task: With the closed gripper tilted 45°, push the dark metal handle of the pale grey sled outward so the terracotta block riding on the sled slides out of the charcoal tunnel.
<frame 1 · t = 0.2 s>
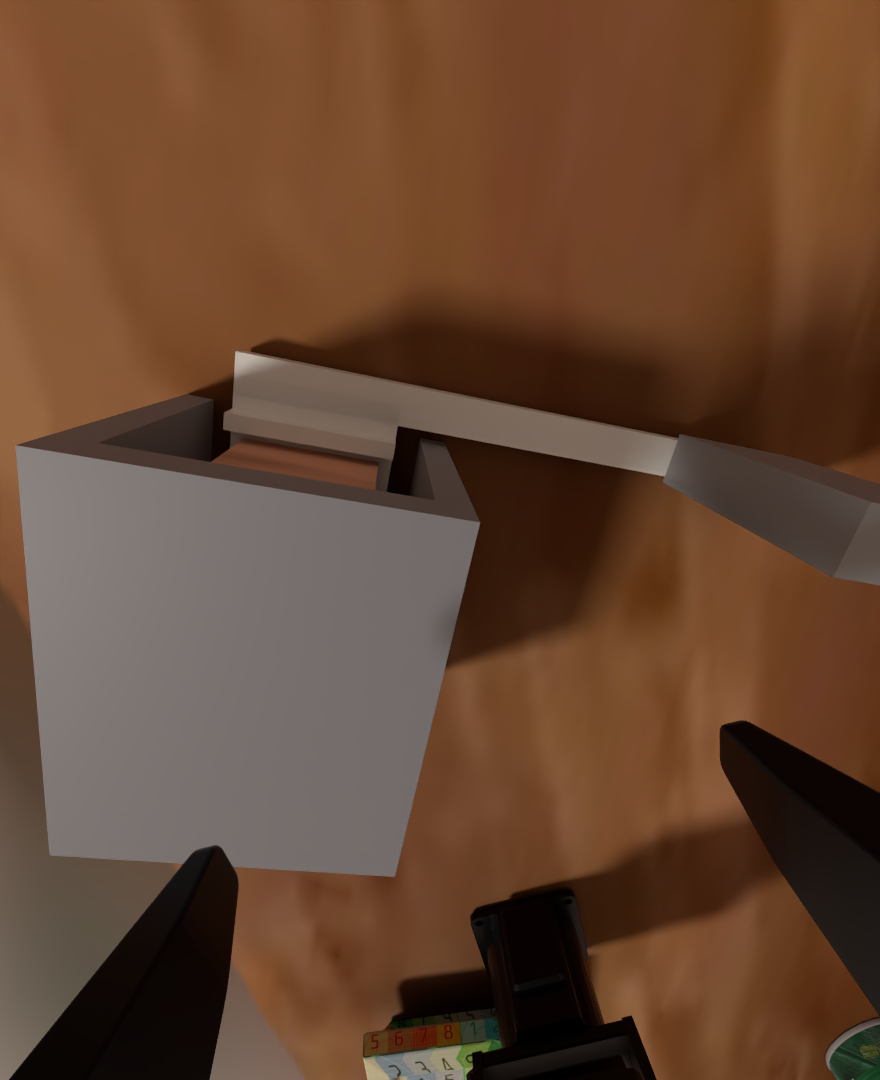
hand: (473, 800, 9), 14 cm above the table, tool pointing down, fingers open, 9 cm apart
sled: (529, 557, 18), point 5 cm above the table, slide at 0.0 cm, touching block
puzzle game: (461, 1053, 39), on the table
tunnel: (303, 557, 23), on the table
canned tomato: (870, 1041, 42), on the table
block: (305, 512, 21), point 1 cm above the table, touching sled
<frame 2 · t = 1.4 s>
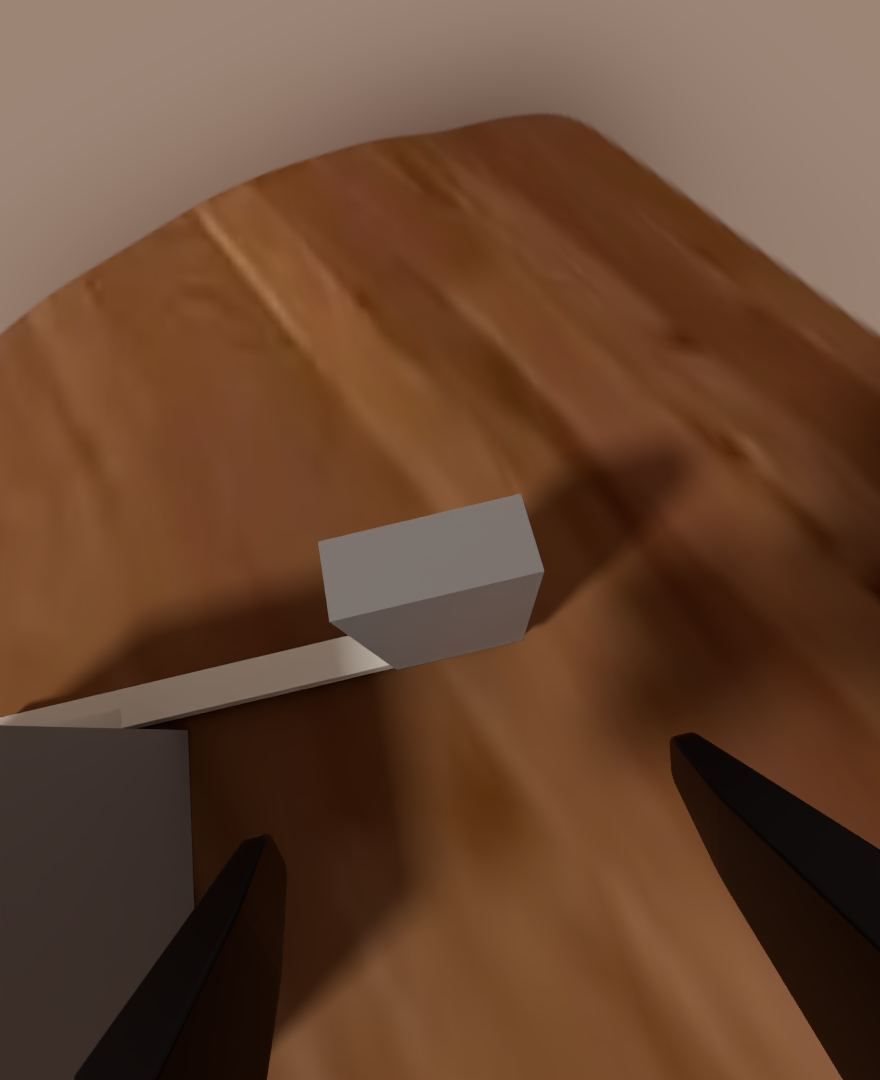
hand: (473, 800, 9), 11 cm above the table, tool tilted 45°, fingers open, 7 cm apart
sled: (194, 787, 16), point 5 cm above the table, slide at 0.0 cm, touching block
tunnel: (61, 931, 19), on the table
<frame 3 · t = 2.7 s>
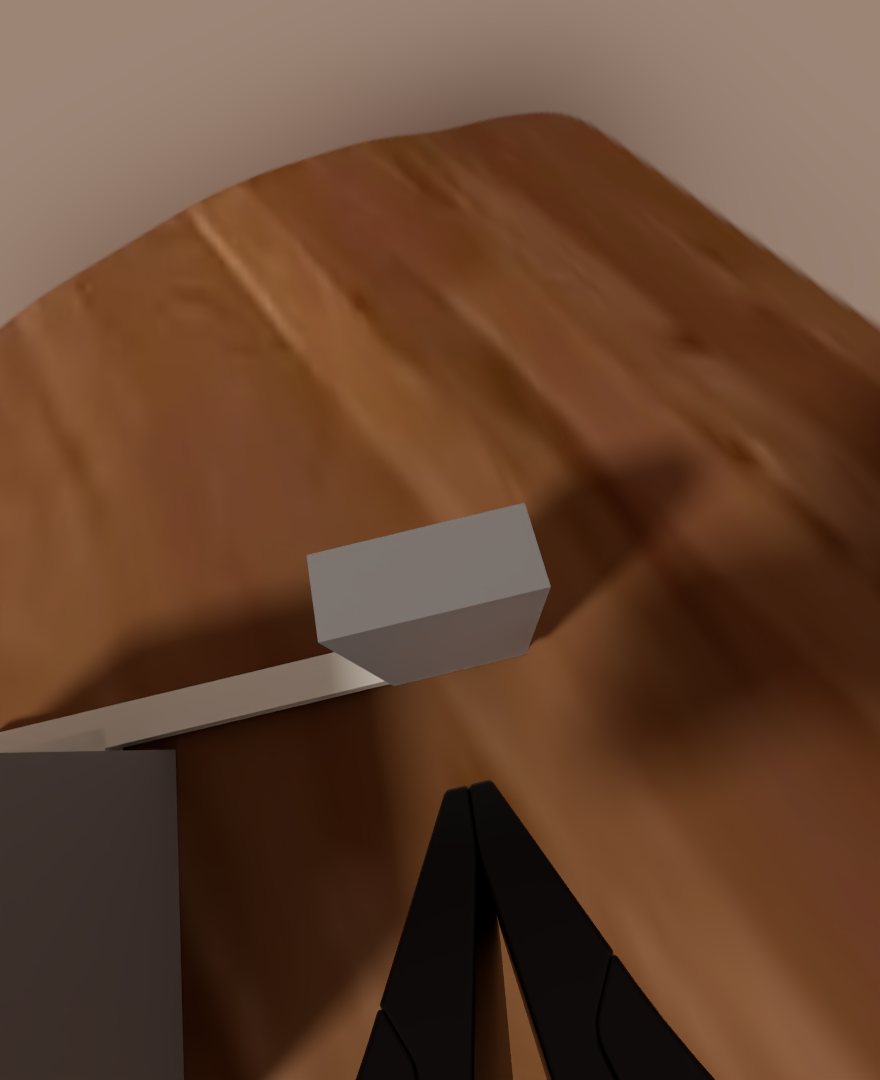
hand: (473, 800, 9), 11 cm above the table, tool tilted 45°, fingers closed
sled: (177, 815, 15), point 5 cm above the table, slide at 0.0 cm, touching block
tunnel: (40, 964, 18), on the table
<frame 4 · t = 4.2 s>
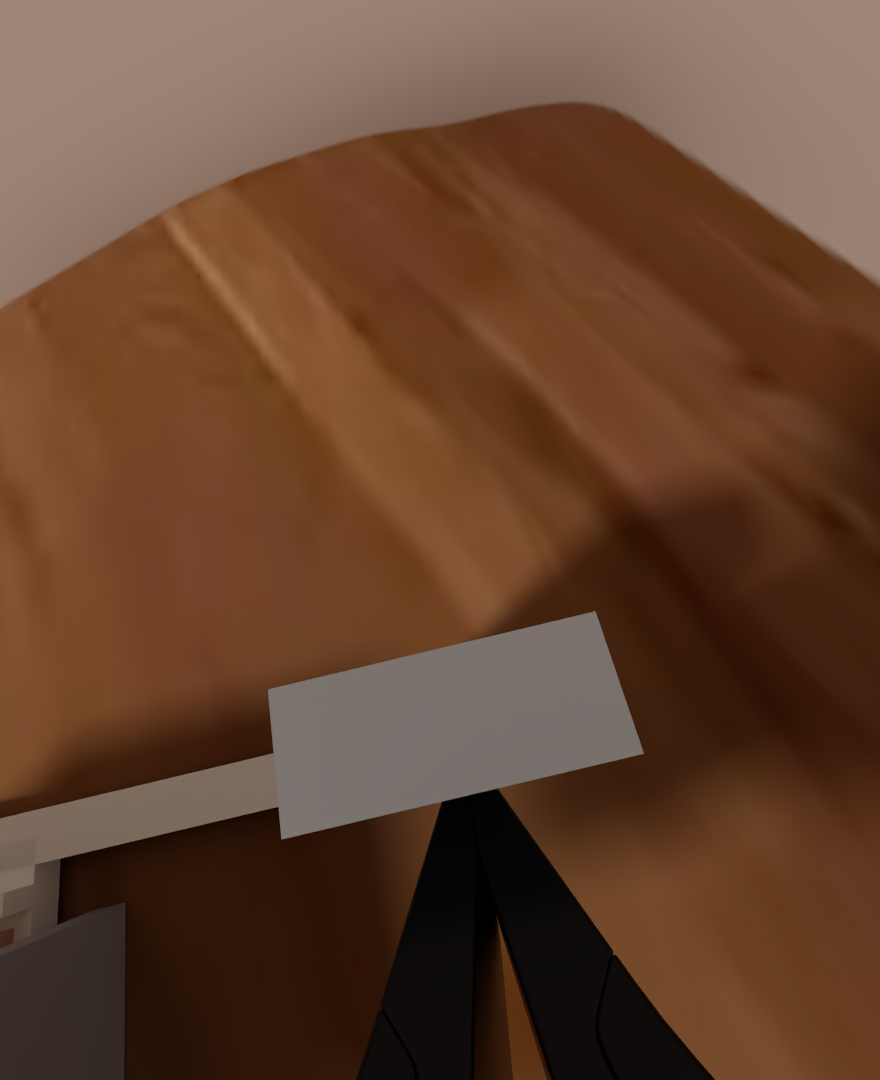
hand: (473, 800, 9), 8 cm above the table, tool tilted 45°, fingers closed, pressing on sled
sled: (101, 1008, 11), point 5 cm above the table, slide at 1.2 cm, touching block, gripper
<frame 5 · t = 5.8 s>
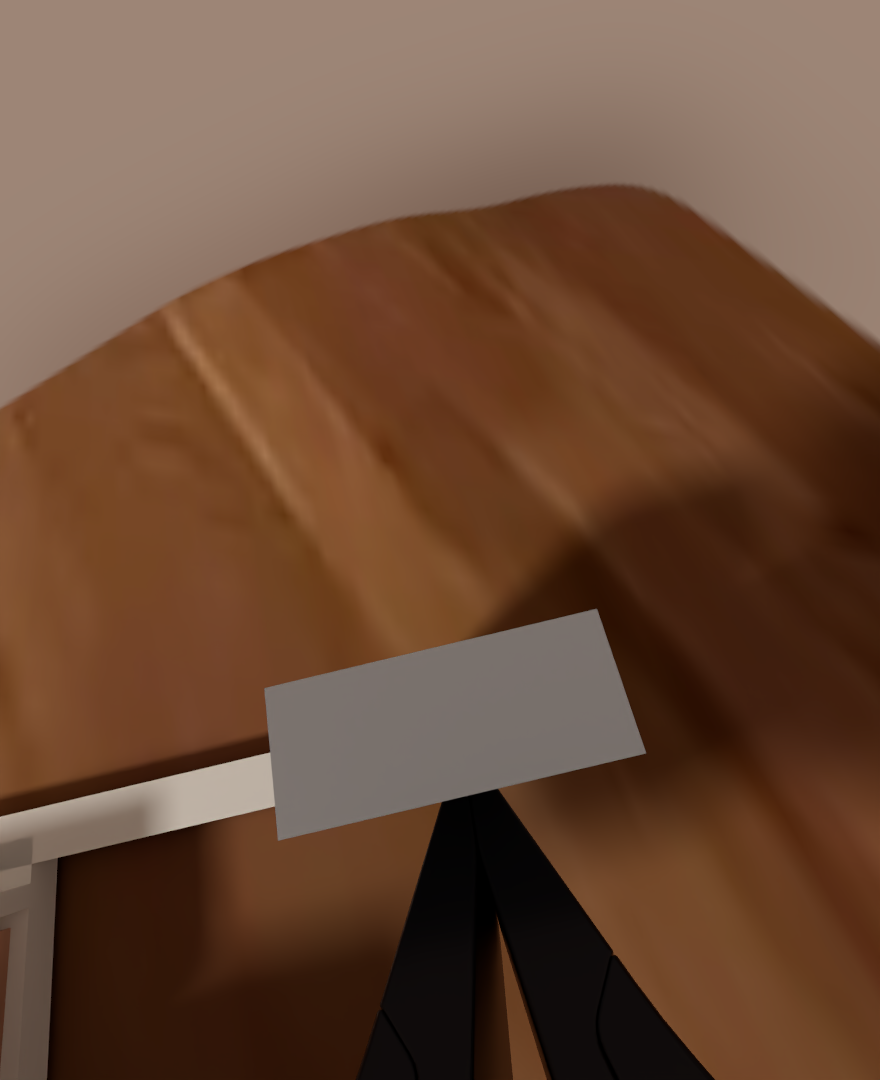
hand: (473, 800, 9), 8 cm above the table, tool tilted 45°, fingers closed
sled: (98, 1009, 11), point 5 cm above the table, slide at 8.2 cm, touching block
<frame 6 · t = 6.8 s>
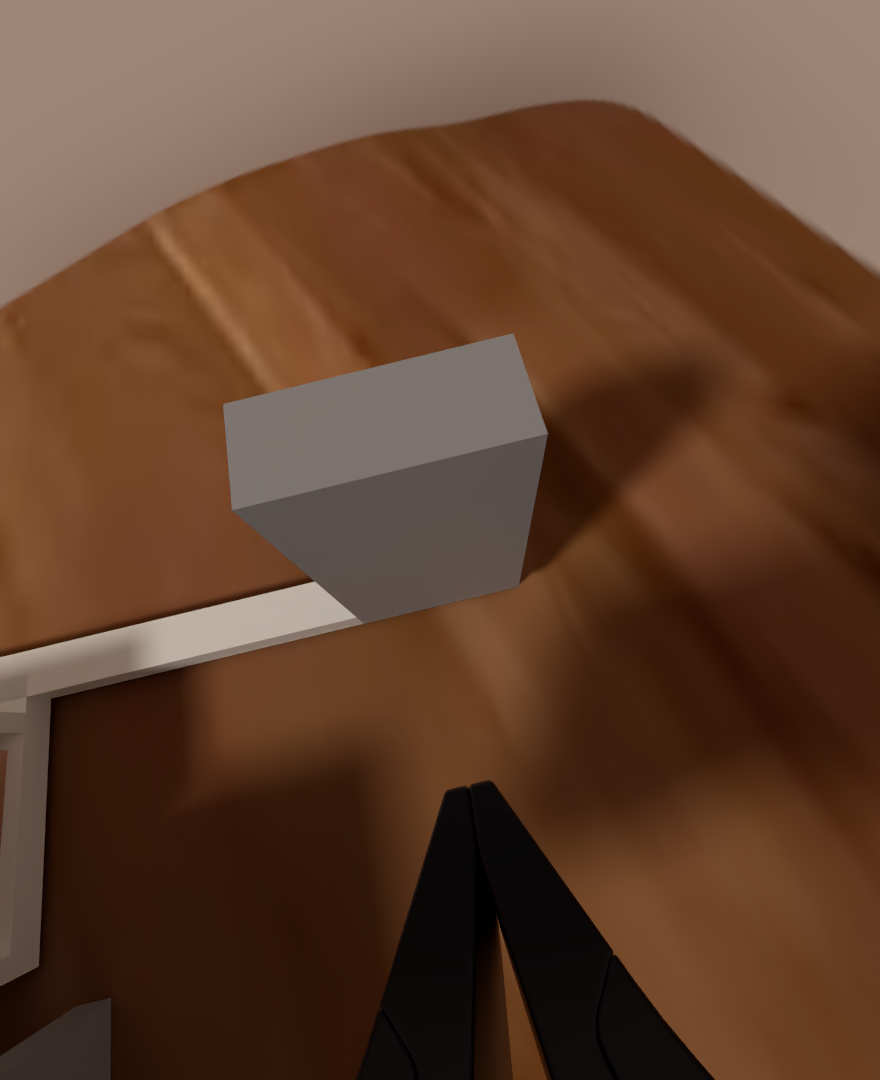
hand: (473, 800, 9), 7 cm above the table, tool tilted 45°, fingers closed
sled: (85, 763, 12), point 5 cm above the table, slide at 8.2 cm, touching block
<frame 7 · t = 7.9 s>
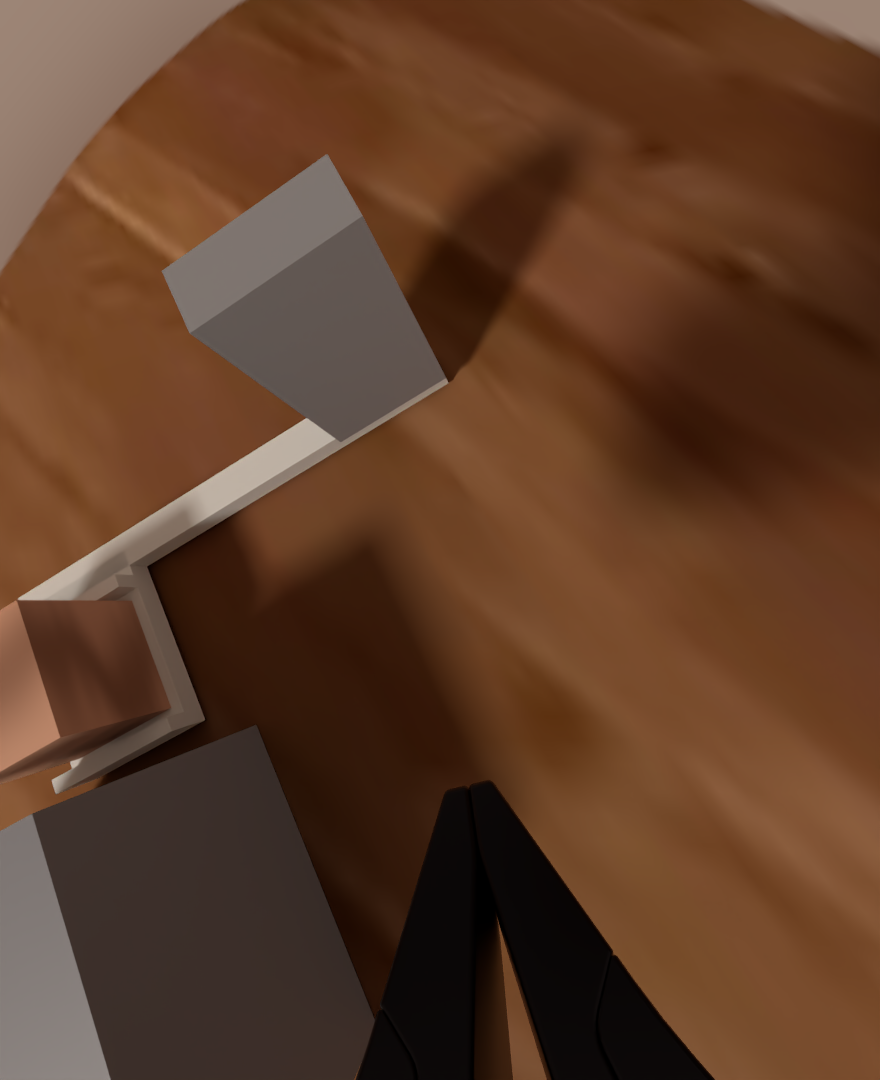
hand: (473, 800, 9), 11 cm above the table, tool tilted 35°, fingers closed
sled: (177, 561, 18), point 5 cm above the table, slide at 8.2 cm, touching block
tunnel: (212, 914, 22), on the table
block: (105, 679, 23), point 1 cm above the table, touching sled
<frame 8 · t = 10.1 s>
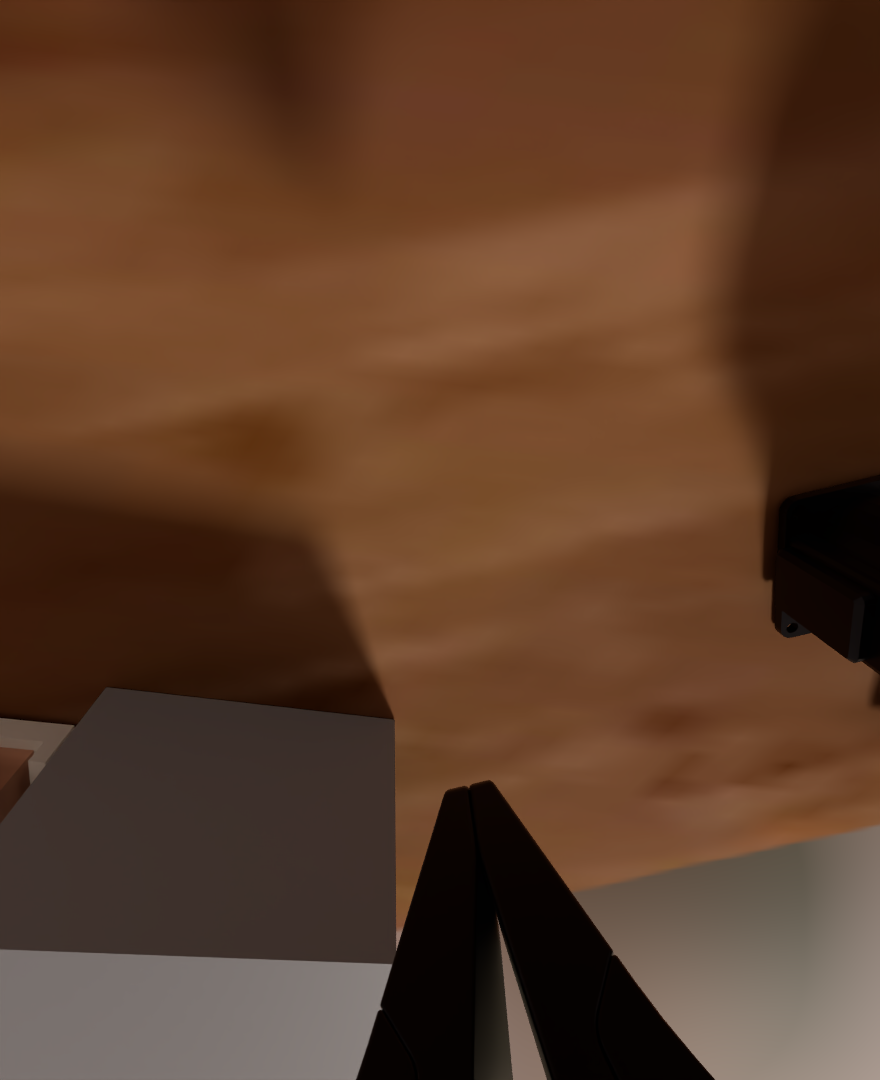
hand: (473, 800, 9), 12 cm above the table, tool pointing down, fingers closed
tunnel: (247, 789, 24), on the table
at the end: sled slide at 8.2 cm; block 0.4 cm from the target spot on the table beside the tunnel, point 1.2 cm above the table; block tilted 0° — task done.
